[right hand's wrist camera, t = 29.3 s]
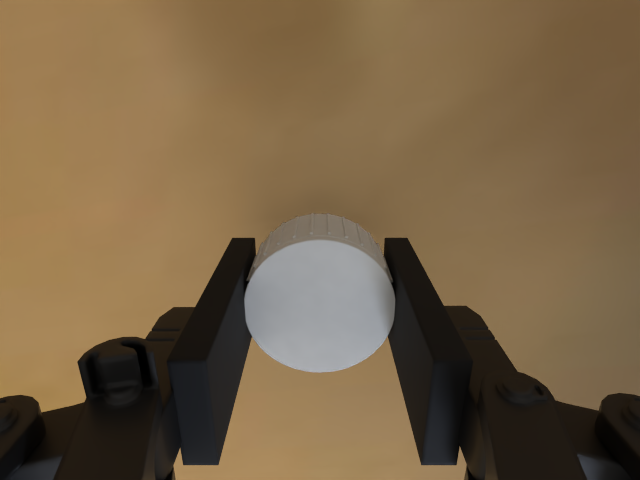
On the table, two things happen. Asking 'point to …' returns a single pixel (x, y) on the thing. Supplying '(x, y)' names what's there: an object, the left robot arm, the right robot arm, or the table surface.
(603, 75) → the table surface
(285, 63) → the table surface
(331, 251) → the cap
